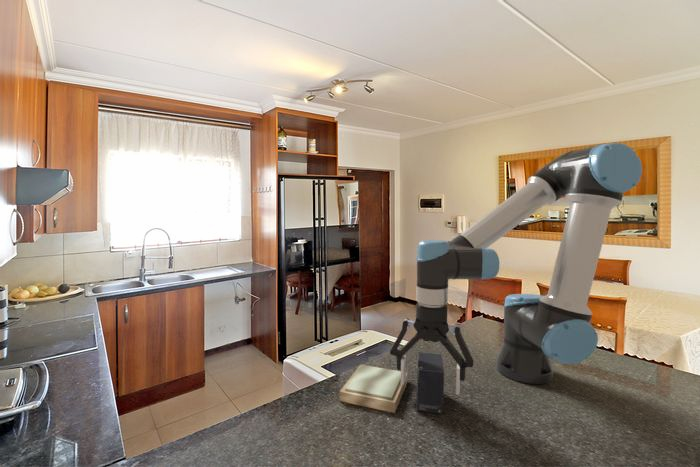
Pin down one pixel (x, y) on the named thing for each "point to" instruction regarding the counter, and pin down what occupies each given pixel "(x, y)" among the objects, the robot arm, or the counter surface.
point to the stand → (374, 388)
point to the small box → (430, 383)
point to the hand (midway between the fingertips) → (429, 387)
